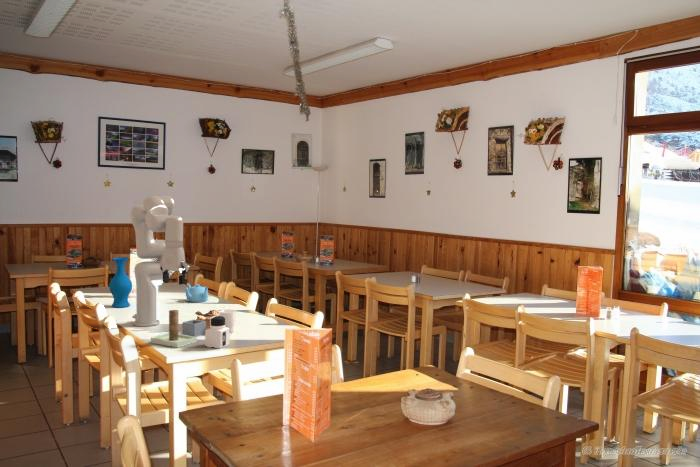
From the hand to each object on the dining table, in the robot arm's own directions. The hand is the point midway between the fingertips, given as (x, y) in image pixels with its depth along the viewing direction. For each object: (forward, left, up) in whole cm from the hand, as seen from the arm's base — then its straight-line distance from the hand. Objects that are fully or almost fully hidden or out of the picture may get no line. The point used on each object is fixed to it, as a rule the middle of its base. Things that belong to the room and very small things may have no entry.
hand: (173, 282), depth 269 cm
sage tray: (0, 0, -27) cm, 27 cm away
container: (+20, +6, -27) cm, 34 cm away
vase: (-85, +43, -27) cm, 99 cm away
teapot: (-62, +80, -27) cm, 104 cm away
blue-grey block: (-3, +16, -27) cm, 31 cm away
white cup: (+6, +29, -27) cm, 40 cm away
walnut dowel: (0, 0, -26) cm, 26 cm away
